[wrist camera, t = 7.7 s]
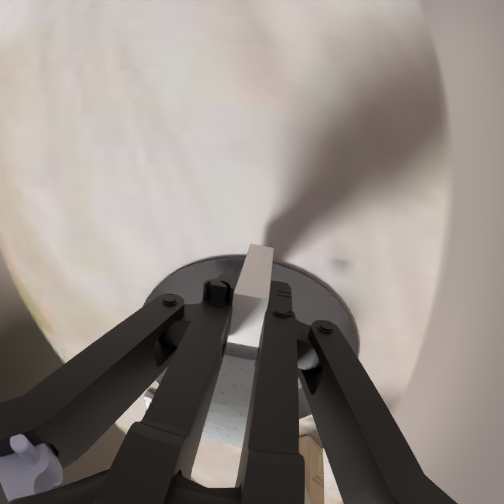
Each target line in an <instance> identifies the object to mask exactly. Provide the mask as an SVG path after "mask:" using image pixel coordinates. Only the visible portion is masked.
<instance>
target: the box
mask: <svg viewBox="0 0 504 504" xmlns="http://www.w3.org/2000/svg"><path fill="white" fill-rule="evenodd" d="M299 453H300V454H301V455H303V457H304V459H305V504H324V470H323V449H322V448H321V447H320V446H319V445H318V444H317V443H316V442H315V441H314V440H313V438H312V437H311V436H310V435H306V436H302V437H299Z"/></svg>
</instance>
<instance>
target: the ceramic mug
mask: <svg viewBox="0 0 504 504" xmlns="http://www.w3.org/2000/svg"><path fill="white" fill-rule="evenodd" d="M254 365H255V360H250V359H244V358H238V357H234V356H229V355H225V354H224V358H223V361H222V365H221V369H220V372H219V376H218V379H217V383H216V386H215V390H214V393H213V397H212V400H211V404H210V407H209V411H208V414H207V418H206V421H205V425H204V428H203V432H202V435H201V437H204V438H208V439H212V440H215V441H218V442H222V443H225V444H229V445H232V446H236V447H241V448H242V447H243V441H244V435H245V428H246V422H247V416H248V410H249V403H250V397H251V390H252V384H253V377H254V371H255V366H254Z"/></svg>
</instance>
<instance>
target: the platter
mask: <svg viewBox="0 0 504 504" xmlns="http://www.w3.org/2000/svg"><path fill="white" fill-rule="evenodd" d="M245 259H246V258H221V259H213V260H207V261H203V262H199V263H196V264H192V265H190V266H187V267H185V268H183V269H181V270H178V271H176V272H175V273H173V274H172V275H170V276H169V277H167V278H166V279H164V280H163V281H162V282H161V283H160V284H159V285H158V286H157V287H156V288H155V289H154V290H153V291H152V293H151V294H150V295H149V297H148V298H147V300H146V301H145V303H144V305H143V307H144V306H145V305H146V304H148V303H149V302H151V301H152V300H153V299H155V298H156V297H158V296H160V295H162V294H167V293H170V294H171V293H172V294H176V295H179V296H181V297H182V298H183V299H184V304H198V303H201V301H202V299H203V287H204V282H205V281H206V280H209V279H217V278H218V276H219V275H221V274H223V273H229V274H235V275H240V274H241V271H242V268H243V265H244V262H245ZM271 280H273V281H278V282H284V283H288V284H289V286H290V287H291V292H292V293H291V294H292V311H293V312H294V313H295V315H296V319H297V320H299V321H300V322H302V323H304V324H307V325H310V326H311V325H312V323H313V322H314V321H316V320H327V321H330V322H332V323H334V324H335V325H337V326H338V327H339V329H340V330H341V332H342V333H343V335H344V337H345V338H346V340H347V341H348V343H349V345H350V346H351V348H352V350H353V351H354V353H355V354H356V356H357V339H356V334H355V331H354V328H353V325H352V322H351V320H350V318H349V316H348V314H347V312H346V310H345V309H344V308H343V306H342V305H341V304H340V302H339V301H338V300H337V299H336V298H335V297H334V296H333V295H332V294H331V293H330V292H329V291H328V290H327V289H326V288H325V287H323V286H322V285H320V284H319V283H318V282H316V281H315V280H313V279H312V278H310V277H308V276H306V275H304V274H302V273H300V272H298V271H297V270H294V269H291V268H288V267H286V266H283V265H280V264H277V263H272V272H271ZM257 352H258V347H253V346H247V345H242V344H236V343H231V342H228V339H227V346H226V351H225V355H229V356H234V357H238V358H244V359H250V360H255V361H256V356H257ZM167 368H168V367H167ZM167 368H166V369H165V370H164V371H163V372H162V373H161V374H160V376H159V377H158V378H157V379H156V381H157V382H158V383H159V384H160V382H161V380H162V378H163V376H164V374H165V372H166V370H167ZM298 392H299V419H301V418H303V417H306V416H308V415H311V414H312V413H311V410H310V407H309V404H308V402H307V399H306V396H305V393H304V390H303V388H302V385H301V382H300V379H299V376H298Z"/></svg>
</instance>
